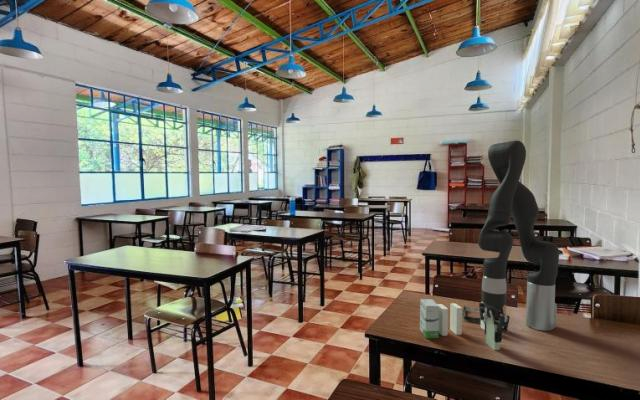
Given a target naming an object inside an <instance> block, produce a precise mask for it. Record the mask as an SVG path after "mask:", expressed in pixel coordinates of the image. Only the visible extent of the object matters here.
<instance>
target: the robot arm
mask: <svg viewBox="0 0 640 400" xmlns="http://www.w3.org/2000/svg"><path fill="white" fill-rule="evenodd" d="M526 157H527V151H526V147H525V144H524V143H523V142H522V140H521V141H520V140H510V141H505V142H497V143H495V144H491V145H490V146H489V147H488V149H487V158H488V162H489V165H490V166H491V169H492V171H493V173H494V174H495V176H496V178H497V181H498V183H499V185H498V187H497V188H496V189H495V191H494V192H493V193H492V196H491V197H490V201H489V206H488V210H487V211H488V212H487V217H486V220H485V222H484V225H483V227H482V228H481V231H480V233H479V235H478V238H477V243H478V247H479V248H480V249H481V250H482V251H487V252H493V253H498V256H496V257H487V258H485V259H484V260H483V263H482V264H483V268H482V269H483V270H482V272H483V274H482V280H481V281H482V282H481V302H483V303H481V302H479V304H478V307H479V309H478V310H480V313H479V316H480V317H479V318H481V320H483V323H484V324H485V330H484V335H485V336H486V321H487V318H488V317H489V318H491V320H492V324H493V325H494V329H495V331H494V341H495V342H496V343H498V342H500V343H502V340H503V333H507V331H508V329H509V328H508V327H509V324H510V323H509V322H510V315H507V314H506V315H505V314H504V311H503V306H504V305H506V306H507V288H508V287H507V285H508V283H507V266H508V260H509V258H510V257H509V256H510V253H511V251H512V248H513V245H514V238H513V236H512V234H511V233H510V232H509V231H508V232H507V231H500V230H499V231H498V230H495V229H496V228H499V227H505V226H508V225H509V224H510V222H511V217H512V219H513V222H514V226H515V229H516V233H517V236H518V239H519V243H520V248H521V252H522V255H523V257H524V259H525V260H526V261H527V262H528V263H531V264H534V265H539V267H540V268H539V271H534V272H533V271H532V272H530V273H528V274H527V277H526V278H527V279H526V280H527V282H526V308H525V309H526V311H525V312H526V313H525V325H526V326H528V328H531V329H534V330H536V331H537V330H539V331H543V332H544V331H547V332H548V331H549V332H550V331H553V330H555V329H557V314H558V313H557V312H558V311H557V309H558V304H557V303H556V301H555V300H556V299H555V298H556V279H557V277H558V270H559V261H560V250H559V247H558V245H557V244H556V243H555V242H552V241H546V240H538V239H537V237H536V234H535V230H534V226H535V224H536V222H537V220H538V217H539V213H540V210H539V206H538V203H537V199H536V197H535V195H534V193H533V192H532V190H530V189H529V188H528V187H527V186H526V185H525V184H523V183H522V182H521V181H520V179H521V176H522V172H523V169H524V166H525V162H526V159H527V158H526ZM483 313H484V316H483ZM487 316H488V317H487ZM495 320H500V321H499V322H496V321H495ZM497 324H499V326H498V327H497ZM503 326H504V328H503Z"/></svg>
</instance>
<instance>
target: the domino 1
mask: <svg viewBox="0 0 640 400" xmlns="http://www.w3.org/2000/svg"><path fill="white" fill-rule="evenodd" d="M436 304H437V305H438V306H439V335H441V336H448V334H449V333H448V331H449V330H448V328H449V308H448V307H446V306H445V305H444V304H442V303H436Z"/></svg>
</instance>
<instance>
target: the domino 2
mask: <svg viewBox="0 0 640 400" xmlns="http://www.w3.org/2000/svg"><path fill="white" fill-rule="evenodd" d="M449 307H450V309H449V314H450V315H449V330H450V331H451V332H453V333H454V335H456V336H461V335H462V333H463V332H462V329H463V327H462V326H463V315H462V314H463V312H462V311H463V307H462V306H460V305H459V304H457V303H456V302H455V303H452V302H451V303H450V306H449Z"/></svg>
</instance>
